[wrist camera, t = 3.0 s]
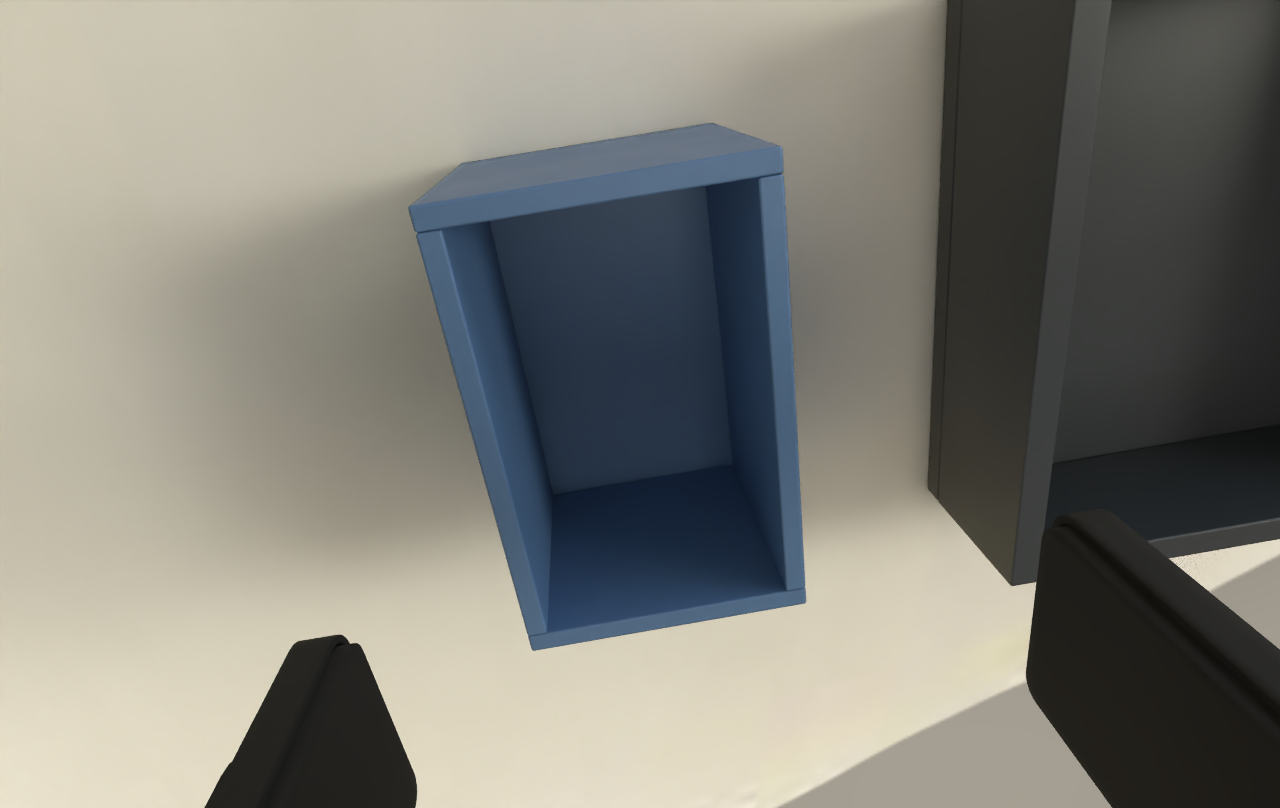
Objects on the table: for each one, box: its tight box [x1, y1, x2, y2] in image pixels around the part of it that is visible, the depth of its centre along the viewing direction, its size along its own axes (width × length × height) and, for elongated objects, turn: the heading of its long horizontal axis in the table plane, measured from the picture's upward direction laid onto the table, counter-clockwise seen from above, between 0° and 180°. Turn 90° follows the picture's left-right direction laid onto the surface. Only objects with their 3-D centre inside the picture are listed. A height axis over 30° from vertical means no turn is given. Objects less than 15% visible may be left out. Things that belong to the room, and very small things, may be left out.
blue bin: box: [409, 123, 806, 651], centre depth 18 cm, size 7×11×7 cm, turn 8°
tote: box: [929, 0, 1280, 586], centre depth 20 cm, size 14×16×5 cm
